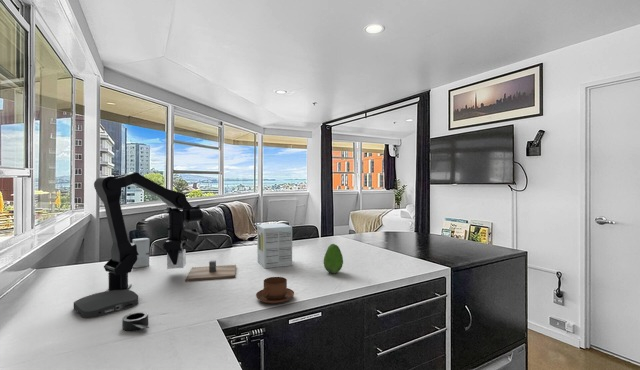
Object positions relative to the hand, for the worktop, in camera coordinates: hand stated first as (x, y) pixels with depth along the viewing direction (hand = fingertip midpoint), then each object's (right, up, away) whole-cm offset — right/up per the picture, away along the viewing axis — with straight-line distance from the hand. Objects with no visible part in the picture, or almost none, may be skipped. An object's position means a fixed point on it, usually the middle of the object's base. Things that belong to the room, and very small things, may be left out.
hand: (176, 262), depth 126 cm
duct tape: (+10, -6, -45) cm, 46 cm away
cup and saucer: (+43, -6, -26) cm, 51 cm away
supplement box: (+37, -5, +17) cm, 41 cm away
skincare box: (-22, -5, +13) cm, 26 cm away
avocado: (+63, -5, +2) cm, 63 cm away
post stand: (+14, -5, +1) cm, 15 cm away
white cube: (0, -2, 0) cm, 2 cm away
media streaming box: (-7, -6, -32) cm, 33 cm away
